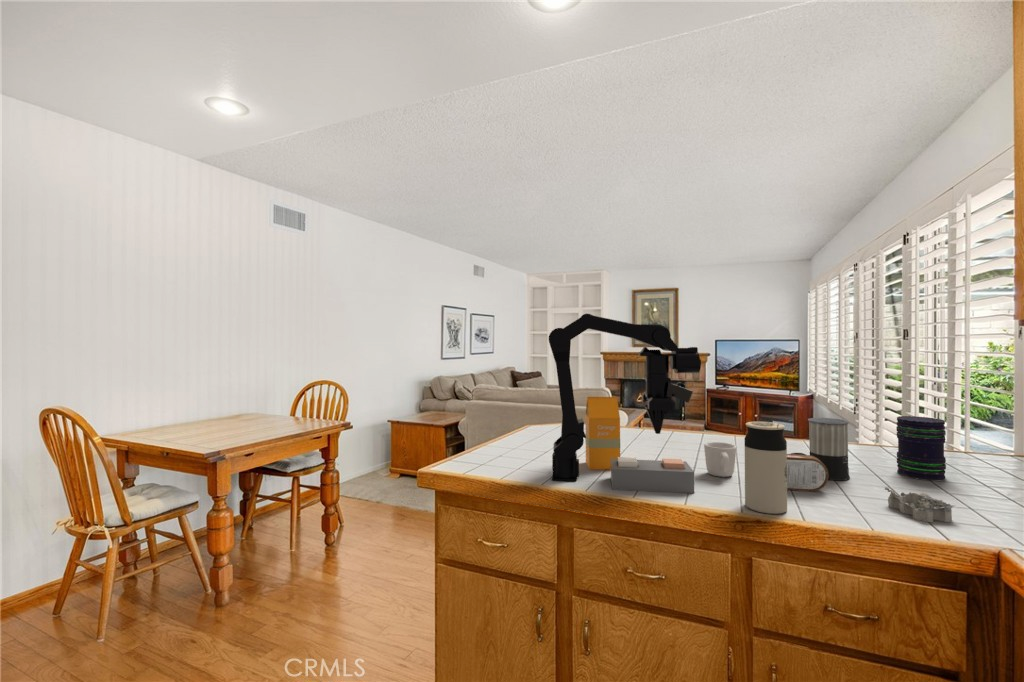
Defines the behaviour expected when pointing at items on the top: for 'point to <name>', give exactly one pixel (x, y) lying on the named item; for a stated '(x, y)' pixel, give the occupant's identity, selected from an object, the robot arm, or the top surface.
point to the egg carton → (921, 506)
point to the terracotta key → (672, 463)
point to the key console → (652, 477)
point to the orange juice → (602, 432)
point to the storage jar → (921, 447)
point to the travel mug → (766, 468)
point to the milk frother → (830, 445)
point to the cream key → (627, 462)
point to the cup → (720, 458)
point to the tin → (805, 473)
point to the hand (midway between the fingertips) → (657, 433)
